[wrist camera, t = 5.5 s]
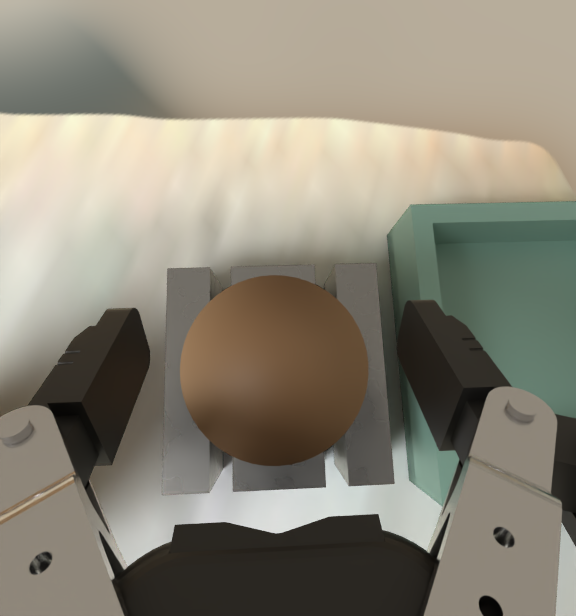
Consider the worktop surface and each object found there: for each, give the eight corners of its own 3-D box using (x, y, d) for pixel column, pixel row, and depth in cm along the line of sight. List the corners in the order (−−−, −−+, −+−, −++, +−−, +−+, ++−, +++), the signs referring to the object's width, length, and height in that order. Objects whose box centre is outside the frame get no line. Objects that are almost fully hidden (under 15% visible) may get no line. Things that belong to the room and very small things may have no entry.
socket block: (358, 283, 22) (376, 263, 18) (371, 462, 20) (394, 483, 16) (187, 288, 21) (167, 268, 17) (185, 471, 19) (162, 495, 15)
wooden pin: (309, 335, 21) (361, 272, 8) (313, 407, 20) (376, 461, 7) (240, 338, 21) (181, 277, 8) (241, 410, 20) (178, 470, 7)
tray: (608, 229, 23) (678, 199, 19) (658, 468, 20) (751, 490, 16) (386, 235, 22) (410, 204, 18) (409, 480, 20) (442, 506, 16)
